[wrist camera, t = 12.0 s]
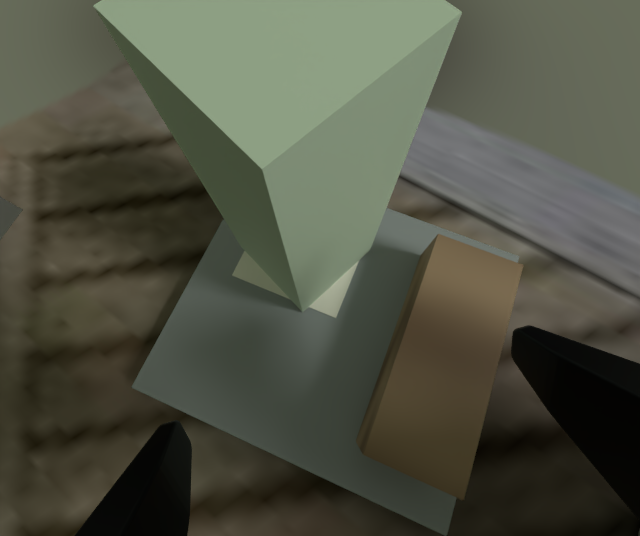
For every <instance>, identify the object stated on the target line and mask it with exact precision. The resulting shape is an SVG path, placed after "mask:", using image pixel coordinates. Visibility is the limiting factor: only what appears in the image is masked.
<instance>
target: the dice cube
mask: <svg viewBox="0 0 640 536" xmlns="http://www.w3.org/2000/svg"><path fill="white" fill-rule="evenodd" d="M22 210H23V209H21V208H19V207H17V206H16V205H14V204H12V203H10V202H9V201H7V200H5V199H3V198H1V197H0V240H1V238H2V237H3V236H4V234H5V233H6V232H7V230H8V229H9V228H10V226H11V225H12V223H13V222H14V221H15V219H16V218H17V217H18V215H19V214H20V213H21V211H22Z"/></svg>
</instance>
